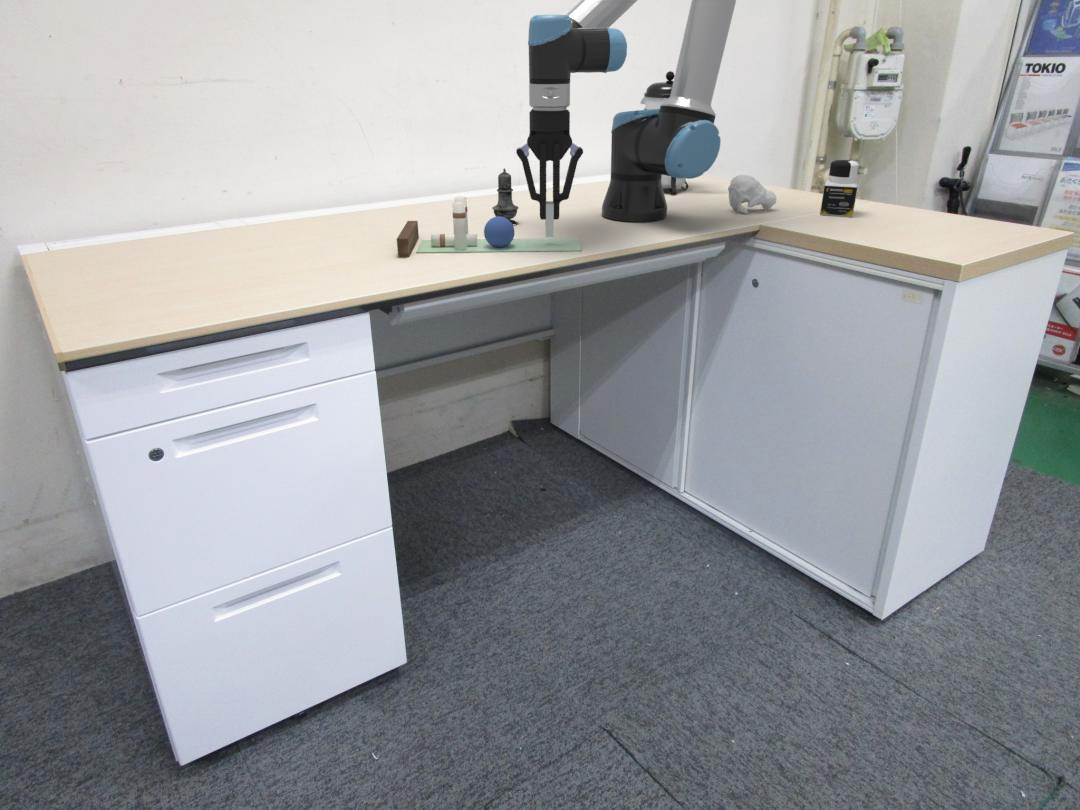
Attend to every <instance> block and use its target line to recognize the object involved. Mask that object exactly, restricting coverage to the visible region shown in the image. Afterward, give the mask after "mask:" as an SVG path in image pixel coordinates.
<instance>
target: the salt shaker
mask: <svg viewBox="0 0 1080 810" xmlns="http://www.w3.org/2000/svg"><path fill="white" fill-rule="evenodd" d="M502 171H503V172H501V173H499V174H498V176H497V180H498V183H497V185H498V189H496V191H497V193H498V194H497V195H498V199H497V204H496V205H494V206H492V208H491V209H492V211H493V214H494V217H498V216H500V217H504V218H507V219H508V220H509V221H510V222H511V223H512V225H513V224H516V223H517V224H518V221H516V220H514V218H515V217H516V216H517V214H518V210H519V206H518V205H516V204H514V201H513V191H514V189H513V188H512V175H511V174H510V173H508V172H507V170H506V168H503V169H502ZM517 224H516V225H517ZM513 226H514V225H513Z"/></svg>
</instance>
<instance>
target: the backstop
mask: <svg viewBox="0 0 1080 810" xmlns="http://www.w3.org/2000/svg"><path fill="white" fill-rule="evenodd" d="M419 235H420V234H419V223H418V220H407V221H406V223H405V225H404V227H402V230H401V231H400V232H399V235H398V236H397V237H396V245H397V257H398V258H409V257H410V255H411V254H412V251H414V250H413V249H414V248H415V246H416V244H417V242H418V241H419V238H420V237H419Z"/></svg>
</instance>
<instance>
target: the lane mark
mask: <svg viewBox="0 0 1080 810" xmlns="http://www.w3.org/2000/svg"><path fill="white" fill-rule="evenodd" d="M579 241H580V240H579V238H577V237H575V238H572V237H571V238H570V237H569V238H560V237H559V238H555V237H550V238H513V240H512V242H511V243H510V244H509V245H507V246H505V247H501V248H497V247H493V246H492V245H490V244H489V243H488V242H487V240H486V239H485V238H483V239H480V238H479V239H478V238H477V246H467V249H466V250H456V249H455V247H432V246H431V239H421V241H420V243H419V245H418V247H417V249H416V251H415V254H431V253H432V254H440V253H441V254H446V253H447V254H450V253H451V254H452V253H453V254H454V253H455V254H456V253H458V254H459V253H532V252H533V253H534V252H535V251H548V252H582V248H581V244H580V242H579Z"/></svg>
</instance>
